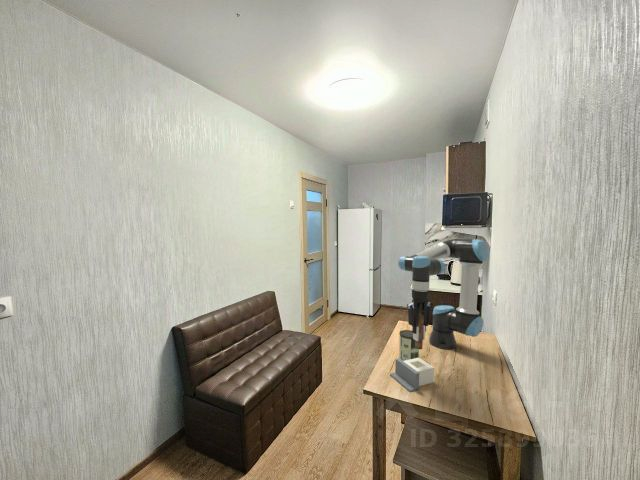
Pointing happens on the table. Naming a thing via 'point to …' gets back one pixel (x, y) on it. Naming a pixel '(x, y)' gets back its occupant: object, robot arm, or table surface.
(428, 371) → the block
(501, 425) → the table surface
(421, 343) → the dowel
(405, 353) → the coffee can
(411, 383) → the wall
